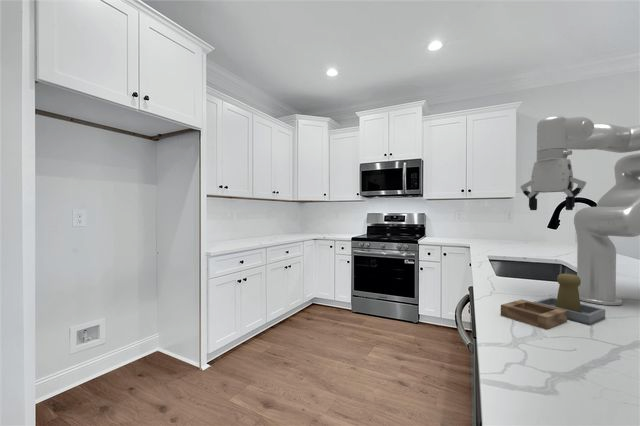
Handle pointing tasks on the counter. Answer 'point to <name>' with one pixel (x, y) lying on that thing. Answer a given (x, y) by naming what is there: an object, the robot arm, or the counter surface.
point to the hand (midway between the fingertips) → (550, 210)
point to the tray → (586, 317)
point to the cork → (568, 292)
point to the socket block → (534, 313)
